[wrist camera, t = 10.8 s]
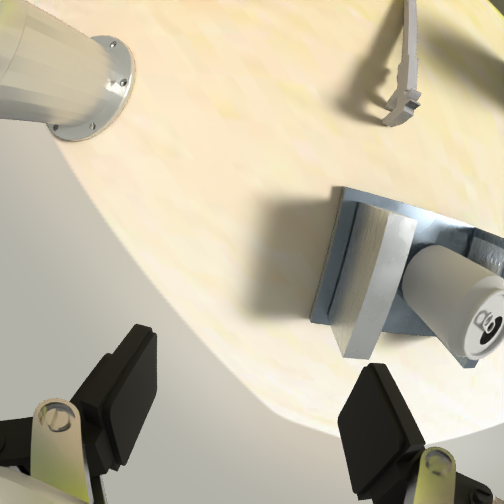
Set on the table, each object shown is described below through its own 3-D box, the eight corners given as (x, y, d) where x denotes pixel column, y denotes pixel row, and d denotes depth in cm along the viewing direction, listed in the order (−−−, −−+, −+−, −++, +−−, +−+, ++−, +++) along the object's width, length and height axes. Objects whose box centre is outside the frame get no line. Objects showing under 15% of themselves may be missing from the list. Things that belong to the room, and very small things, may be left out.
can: (420, 319, 29) (473, 381, 17) (385, 280, 27) (444, 341, 16) (461, 272, 27) (527, 316, 15) (432, 228, 26) (508, 262, 14)
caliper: (388, 128, 25) (418, 120, 19) (379, 124, 25) (407, 114, 18) (411, -7, 19) (433, -29, 13) (403, -11, 19) (424, -34, 13)
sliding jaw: (327, 317, 29) (342, 357, 22) (359, 201, 25) (389, 212, 18) (351, 321, 29) (371, 359, 22) (385, 208, 25) (420, 221, 19)
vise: (309, 317, 30) (321, 362, 22) (343, 186, 26) (372, 193, 19) (443, 333, 30) (474, 367, 23) (480, 229, 26) (523, 246, 19)
